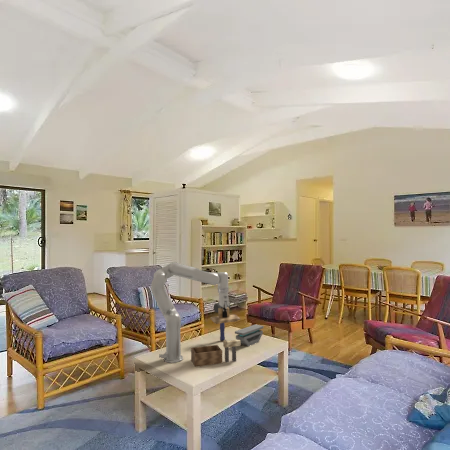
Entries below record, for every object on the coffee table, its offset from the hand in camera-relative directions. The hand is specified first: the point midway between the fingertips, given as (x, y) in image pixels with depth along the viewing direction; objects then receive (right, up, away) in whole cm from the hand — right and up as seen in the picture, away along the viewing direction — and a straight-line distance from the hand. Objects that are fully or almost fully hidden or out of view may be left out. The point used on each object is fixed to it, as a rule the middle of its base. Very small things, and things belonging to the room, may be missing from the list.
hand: (224, 316), depth 236 cm
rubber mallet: (-1, -27, +27) cm, 38 cm away
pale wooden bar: (+5, -16, -14) cm, 22 cm away
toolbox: (-7, -26, -14) cm, 30 cm away
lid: (+1, -2, -2) cm, 3 cm away
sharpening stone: (+20, -26, +21) cm, 39 cm away
